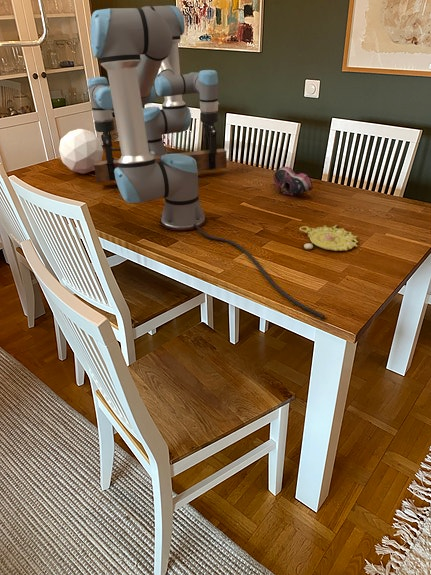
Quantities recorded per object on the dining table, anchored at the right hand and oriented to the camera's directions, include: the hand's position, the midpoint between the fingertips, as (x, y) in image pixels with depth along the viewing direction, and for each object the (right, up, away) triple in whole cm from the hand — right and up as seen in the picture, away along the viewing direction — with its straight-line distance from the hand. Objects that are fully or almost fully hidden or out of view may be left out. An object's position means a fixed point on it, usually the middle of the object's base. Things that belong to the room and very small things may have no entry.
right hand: (112, 177), depth 187 cm
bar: (+21, +3, +5) cm, 22 cm away
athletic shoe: (+73, -8, -10) cm, 74 cm away
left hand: (+42, +7, +9) cm, 43 cm away
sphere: (-17, +8, +20) cm, 28 cm away
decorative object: (+80, -31, -46) cm, 97 cm away
